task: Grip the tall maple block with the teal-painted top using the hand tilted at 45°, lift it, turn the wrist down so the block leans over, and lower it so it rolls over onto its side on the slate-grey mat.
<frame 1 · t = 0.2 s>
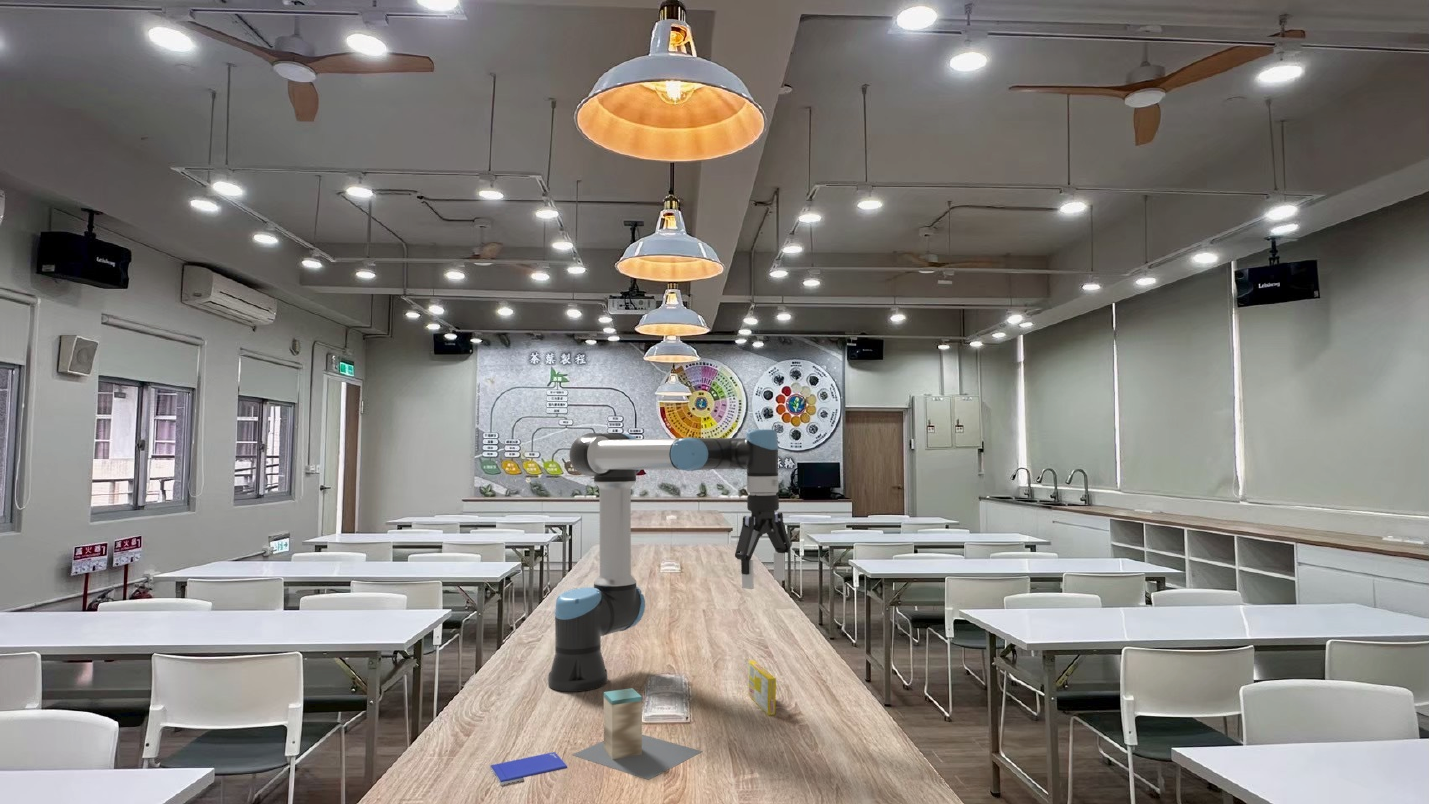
hand: (764, 584, 183), 28 cm above the table, tool pointing down, fingers open, 13 cm apart
candy box: (761, 705, 181), on the table
maple block: (622, 751, 152), point 1 cm above the table, touching slate mat
hard drive: (528, 774, 145), on the table
slate mat: (637, 756, 151), on the table
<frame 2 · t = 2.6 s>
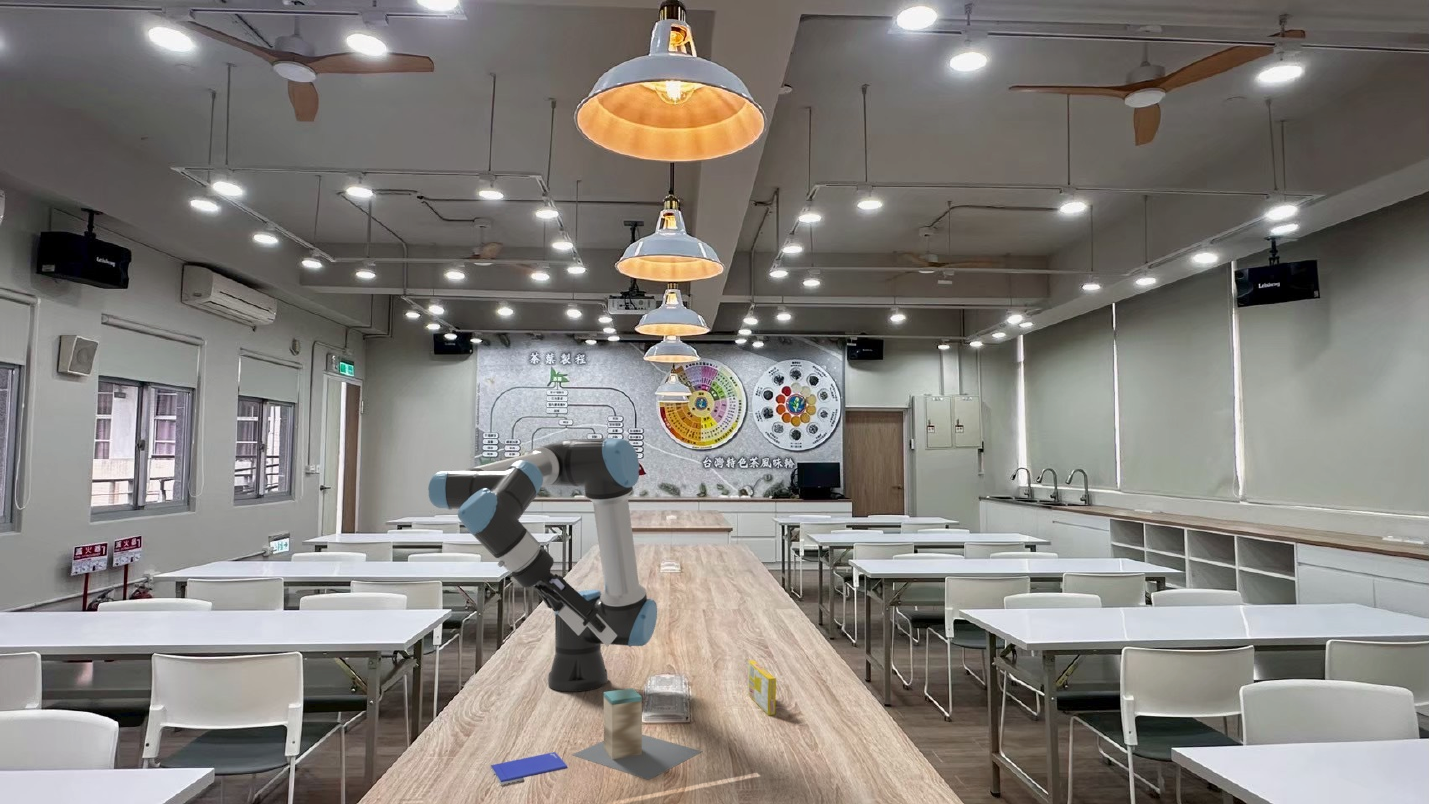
hand: (596, 635, 151), 24 cm above the table, tool tilted 40°, fingers open, 13 cm apart
nothing on the table moved.
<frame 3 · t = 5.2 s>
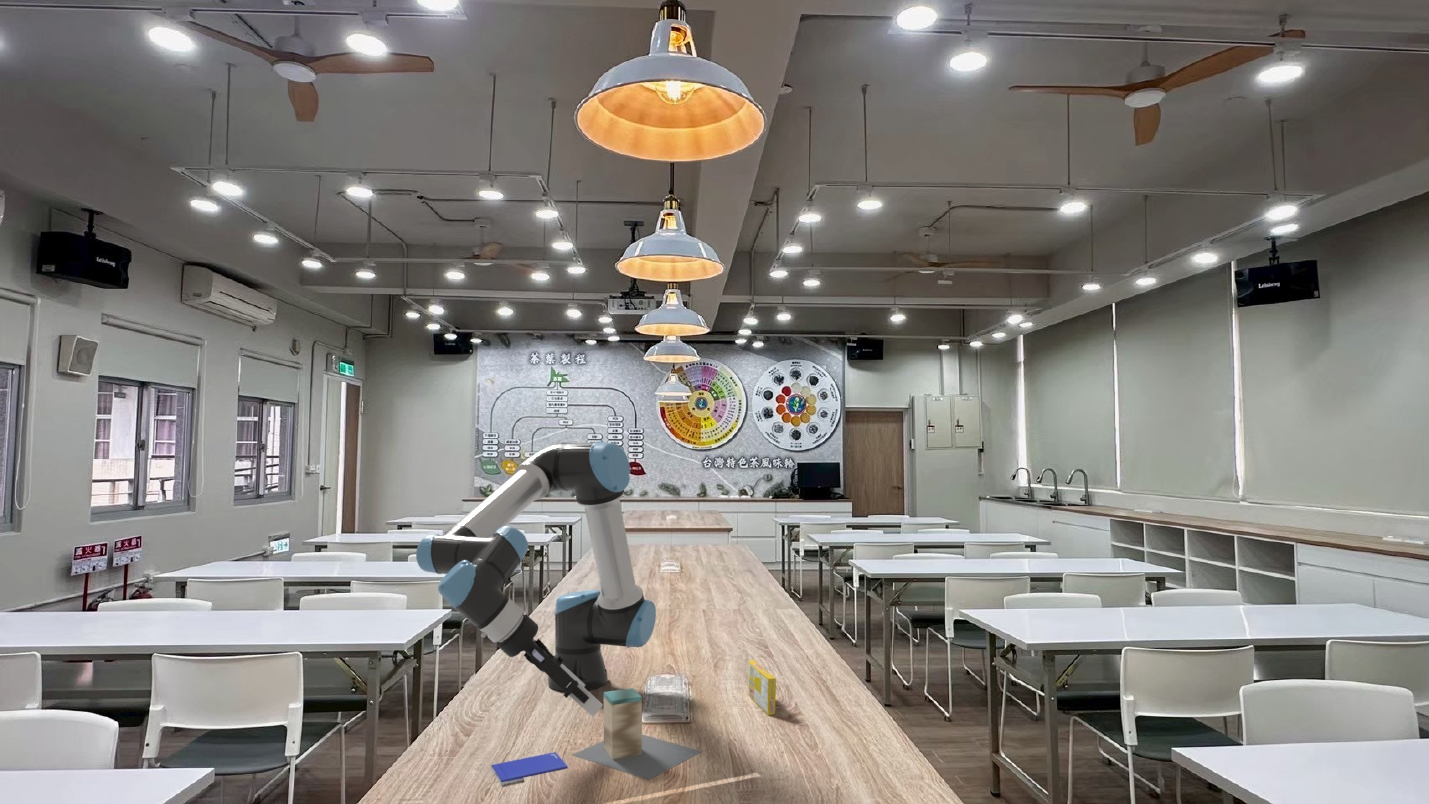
hand: (588, 699, 149), 12 cm above the table, tool tilted 45°, fingers open, 13 cm apart
nothing on the table moved.
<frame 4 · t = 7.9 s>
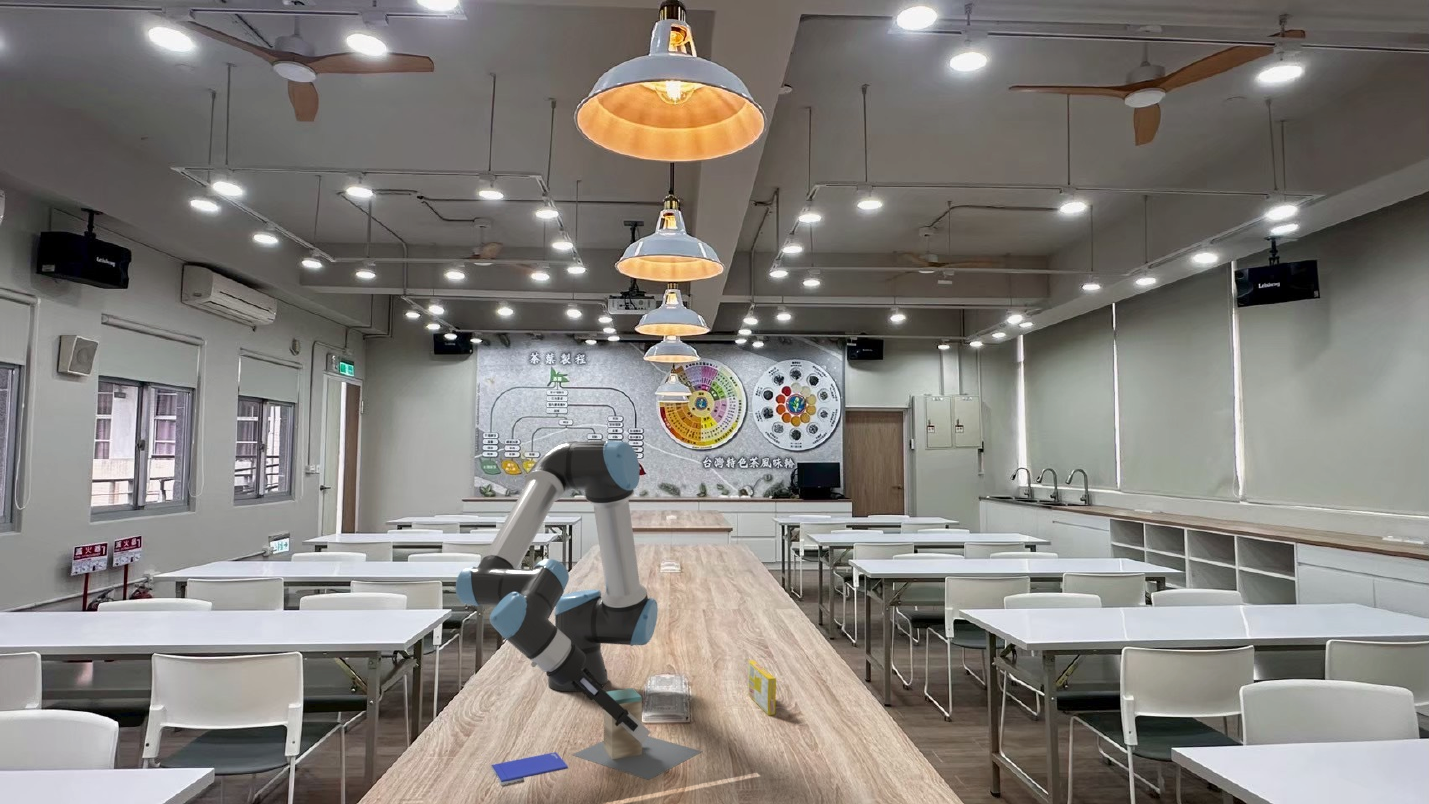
hand: (640, 731, 154), 4 cm above the table, tool tilted 45°, fingers closed on maple block, 6 cm apart
maple block: (622, 751, 152), point 1 cm above the table, touching gripper, slate mat
everything else where it was.
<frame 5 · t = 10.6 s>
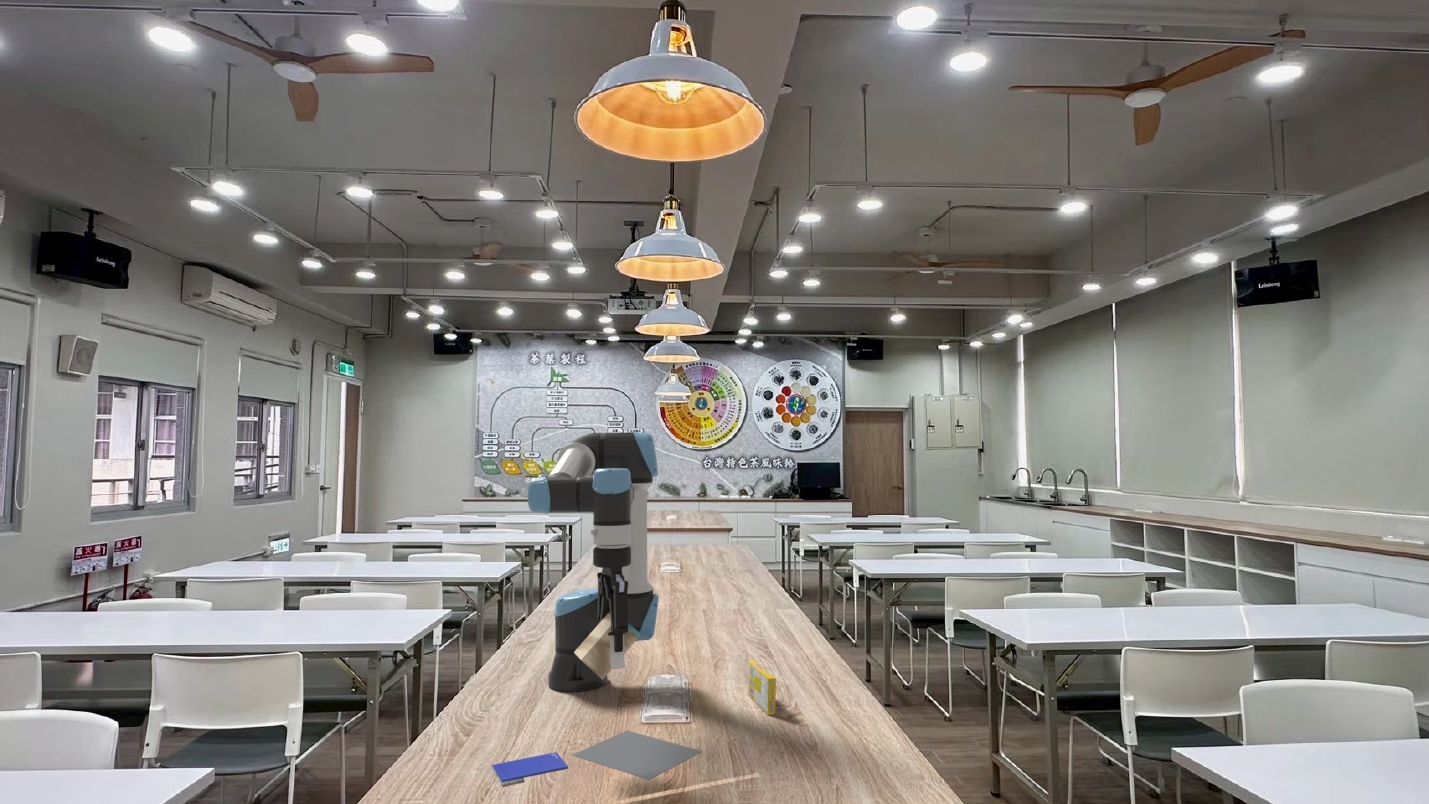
hand: (612, 663, 152), 18 cm above the table, tool pointing down, fingers closed on maple block, 6 cm apart
maple block: (588, 665, 150), point 18 cm above the table, tilted 45°, touching gripper
everything else where it was.
when the fingers open (4 cm above the table, at t = 13.8 s): maple block moves 2 cm and tips over, resting on slate mat.
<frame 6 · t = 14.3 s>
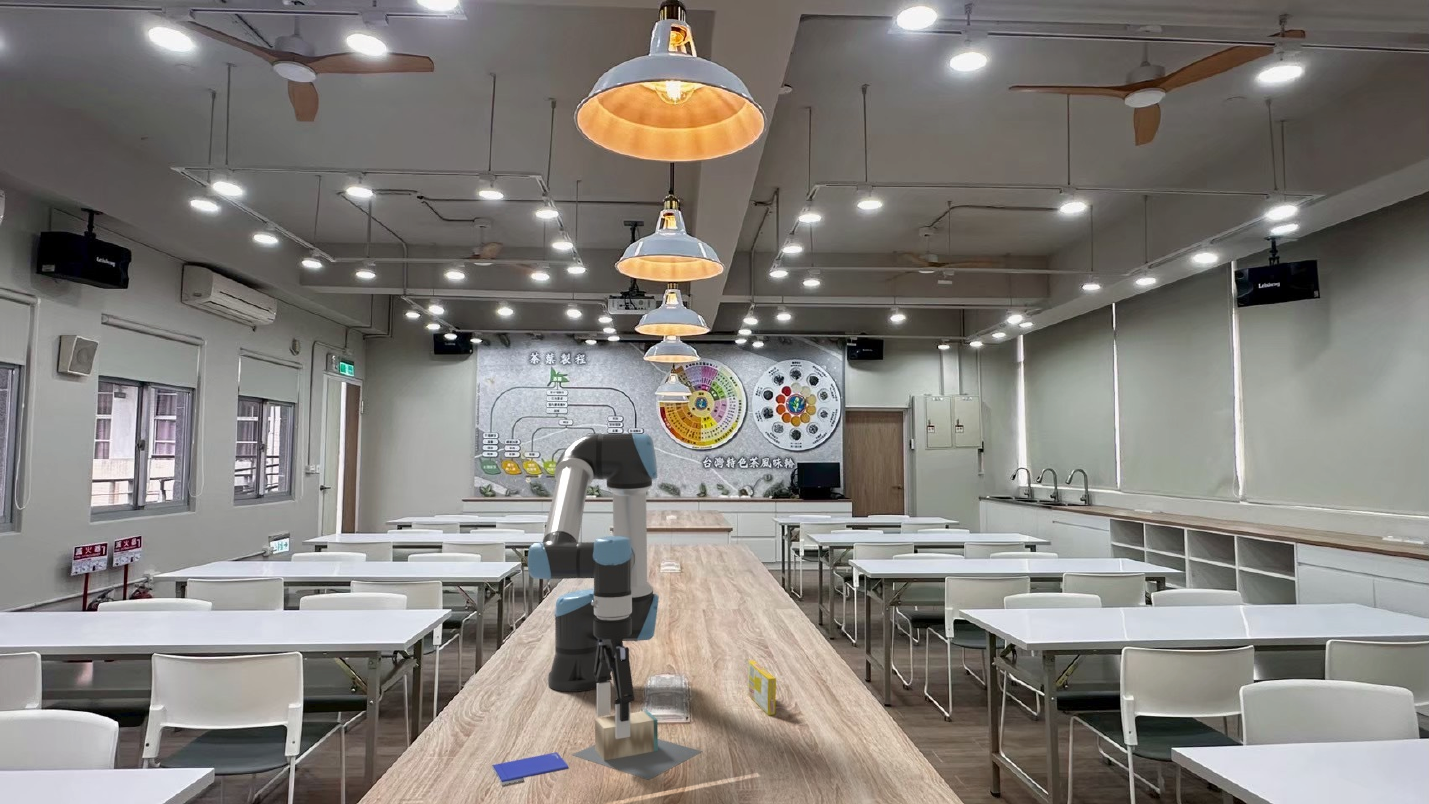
hand: (612, 725, 152), 6 cm above the table, tool pointing down, fingers open, 13 cm apart
maple block: (599, 739, 150), point 4 cm above the table, tilted 90°, touching slate mat
everything else where it was.
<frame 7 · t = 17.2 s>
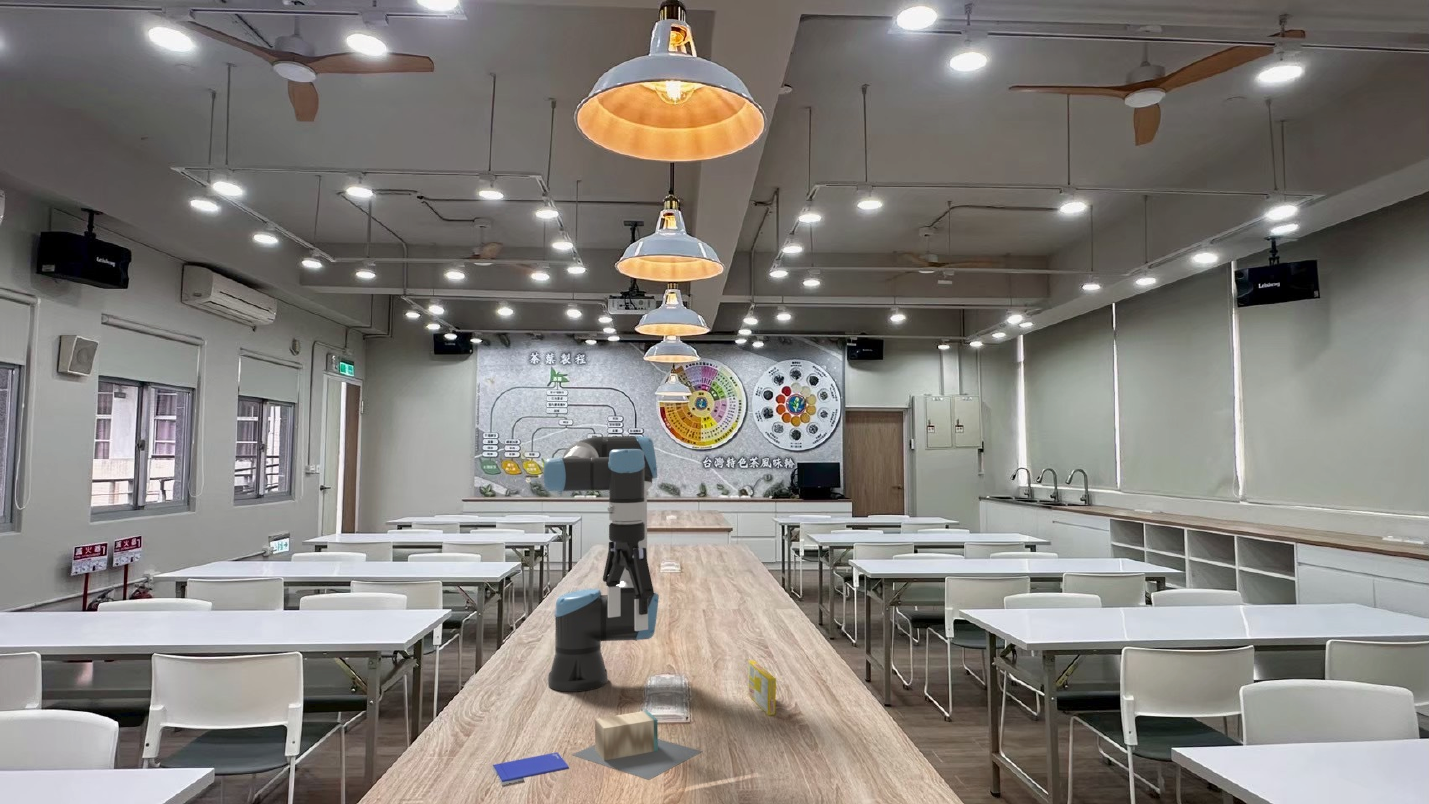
hand: (627, 623, 162), 24 cm above the table, tool pointing down, fingers open, 13 cm apart
nothing on the table moved.
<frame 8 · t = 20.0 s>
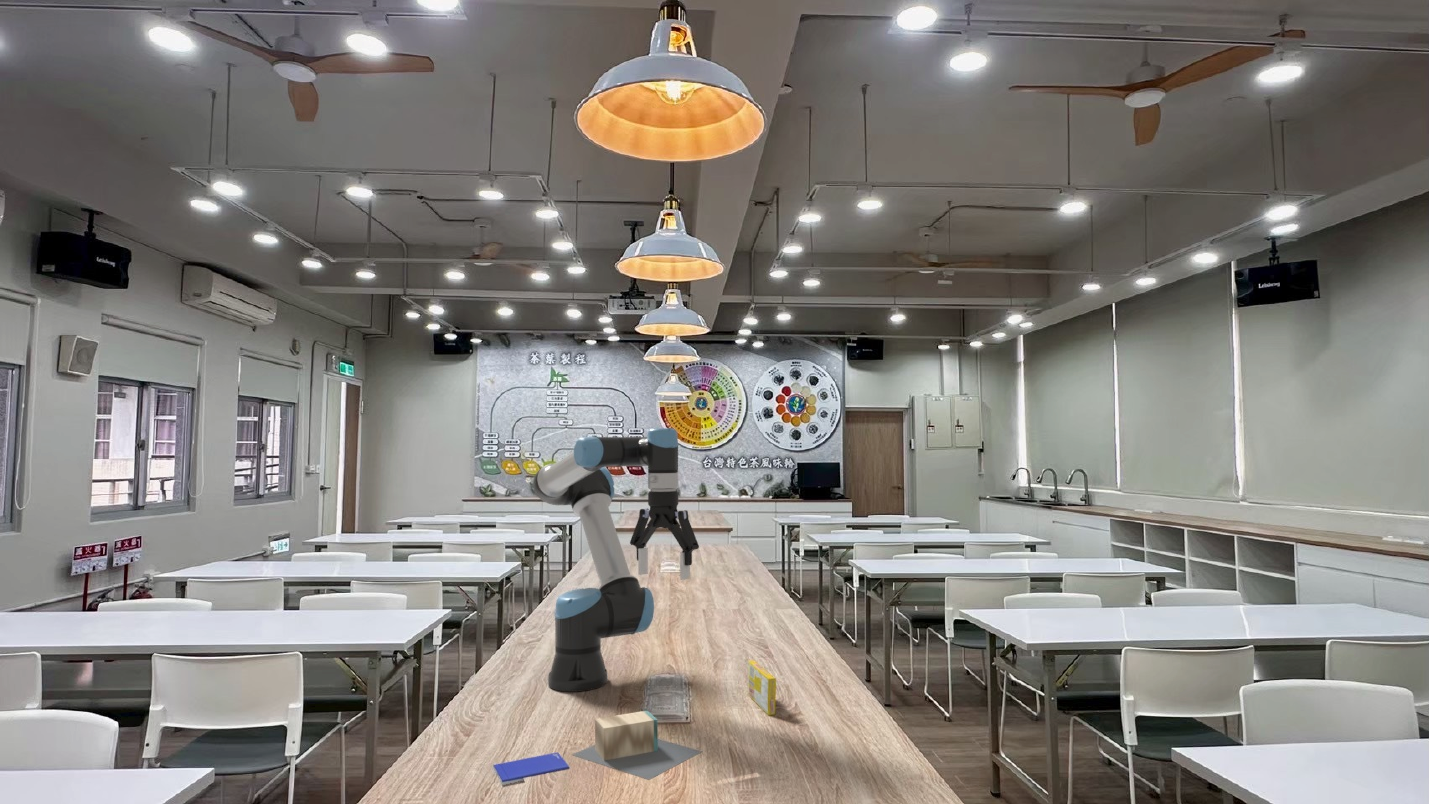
hand: (663, 576, 190), 29 cm above the table, tool pointing down, fingers open, 13 cm apart
nothing on the table moved.
at the end: maple block tilted 90°; maple block inside the target area on the slate mat (7.4 cm from its centre), point 3.6 cm above the slate mat's base; the gripper is holding nothing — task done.
